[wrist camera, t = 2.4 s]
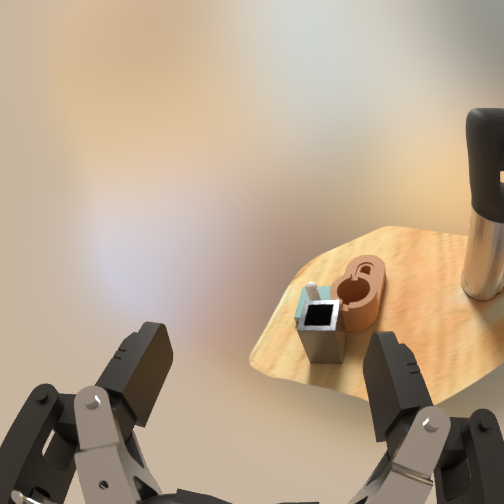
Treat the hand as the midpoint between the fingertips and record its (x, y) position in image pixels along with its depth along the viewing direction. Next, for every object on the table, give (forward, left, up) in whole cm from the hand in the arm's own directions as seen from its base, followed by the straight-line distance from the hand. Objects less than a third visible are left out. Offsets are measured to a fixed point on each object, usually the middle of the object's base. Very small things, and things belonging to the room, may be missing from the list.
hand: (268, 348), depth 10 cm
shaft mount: (+10, -29, -33) cm, 45 cm away
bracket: (+1, -32, -33) cm, 46 cm away
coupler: (+6, -19, -33) cm, 38 cm away
